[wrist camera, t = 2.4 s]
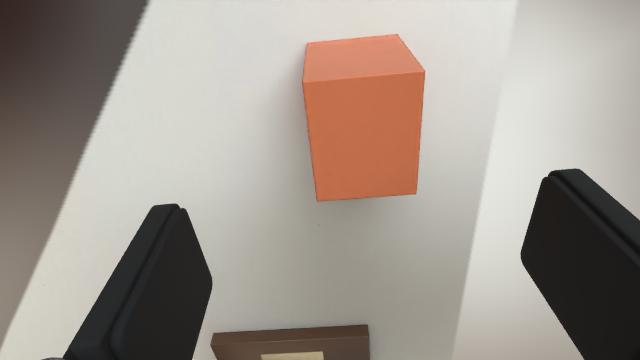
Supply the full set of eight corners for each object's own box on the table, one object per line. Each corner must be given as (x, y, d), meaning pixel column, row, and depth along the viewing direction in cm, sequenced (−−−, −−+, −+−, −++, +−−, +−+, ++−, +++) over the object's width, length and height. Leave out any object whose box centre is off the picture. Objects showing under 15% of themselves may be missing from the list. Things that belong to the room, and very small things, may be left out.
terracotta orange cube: (306, 42, 16) (301, 81, 12) (398, 33, 16) (425, 70, 12) (317, 142, 19) (316, 201, 15) (395, 136, 19) (416, 194, 15)
